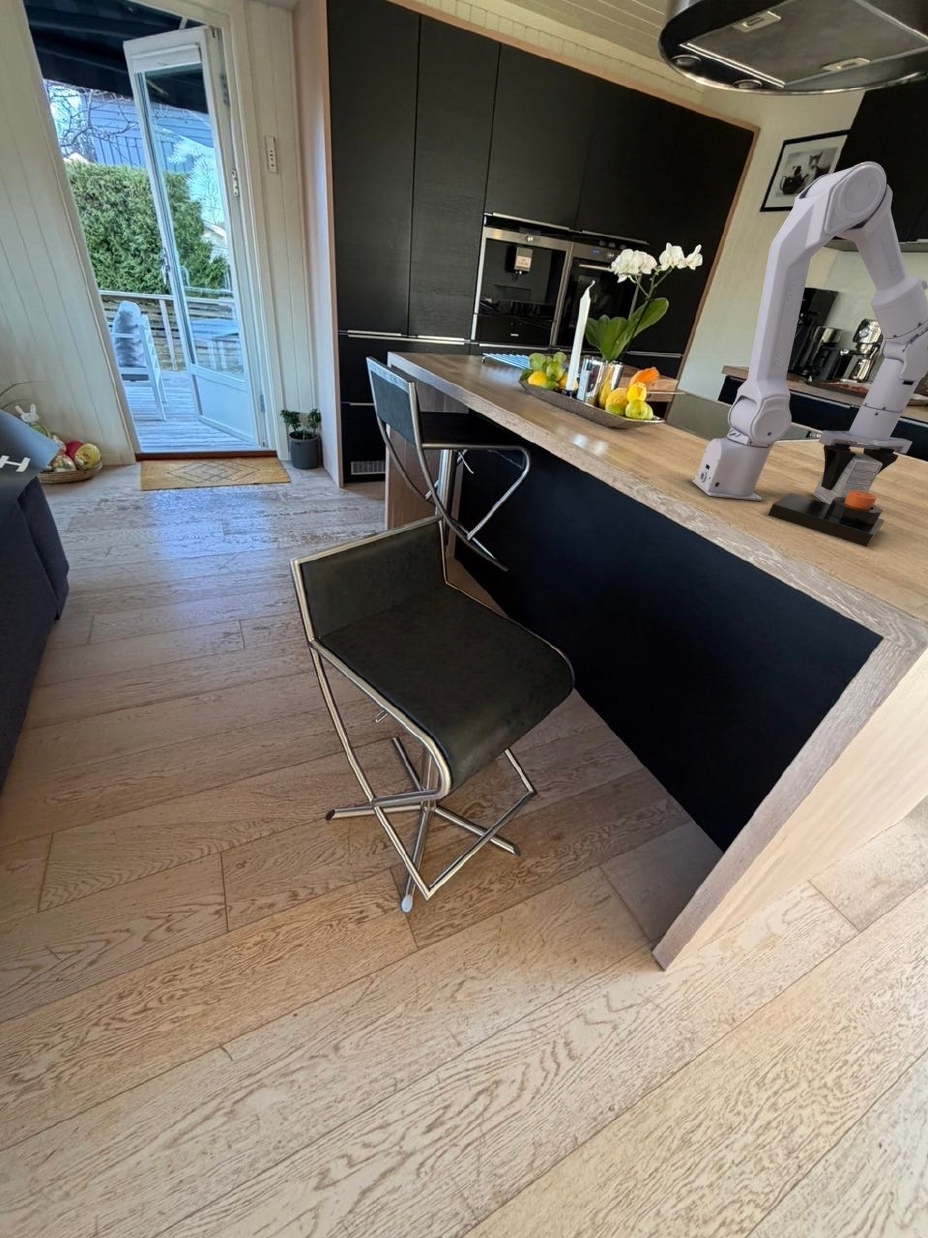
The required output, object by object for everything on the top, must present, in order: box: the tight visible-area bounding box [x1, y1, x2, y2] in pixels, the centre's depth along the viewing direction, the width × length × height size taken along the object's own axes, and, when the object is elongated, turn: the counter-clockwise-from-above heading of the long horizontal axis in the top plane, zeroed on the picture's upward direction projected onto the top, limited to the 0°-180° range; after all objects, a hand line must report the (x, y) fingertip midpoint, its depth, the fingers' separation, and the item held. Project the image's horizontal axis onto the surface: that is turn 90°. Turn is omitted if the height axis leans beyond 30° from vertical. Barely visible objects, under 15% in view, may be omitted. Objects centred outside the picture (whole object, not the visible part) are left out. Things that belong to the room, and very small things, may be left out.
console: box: [767, 492, 885, 548], centre depth 82 cm, size 10×14×4 cm
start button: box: [844, 490, 877, 510], centre depth 80 cm, size 4×4×2 cm
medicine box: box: [812, 449, 882, 504], centre depth 90 cm, size 8×4×9 cm, turn 172°
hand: (840, 489), depth 91 cm, fingers closed on medicine box, 5 cm apart
